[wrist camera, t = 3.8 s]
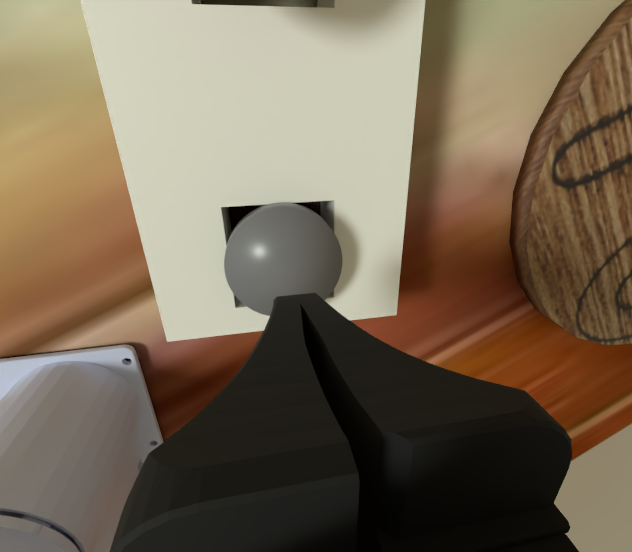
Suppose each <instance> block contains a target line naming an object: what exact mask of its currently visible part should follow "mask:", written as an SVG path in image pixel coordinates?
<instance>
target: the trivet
mask: <svg viewBox="0 0 632 552" xmlns="http://www.w3.org/2000/svg"><path fill="white" fill-rule="evenodd" d="M509 242H510V247H511V252H512V257H513V262H514V266H515V271H516V276H517V281H518V282H519V284H520V285H521V287H522V289H523V290H524V292H525V294H526V295H527V297H528V299H529V300H530V302H531V303H532V305H533V307H534V308H535V309H536V310H538V311H539V312H540V313H542V314H543V315H544V316H546V317H547V318H549V319H550V320H551V321H553V322H554V323H555V324H557V325H558V326H560V327H561V328H563V329H564V330H566V331H567V332H569V333H570V334H572V335H573V336H575V337H577V338H581V339H584V340H588V341H592V342H596V343H600V344H604V345H616V344H632V0H625V1H624V2H623V3H621V4H620V5H619V6H618V7H617V8H616V9H615V10H613V11H612V12H611V13H610V15H609V16H608V17H607V18H606V20H605V21H604V22H603V23H602V25H601V26H600V27H599V29H598V30H597V31H596V32H595V34H594V35H593V36H592V37H591V39H590V40H589V41H588V43H587V44H586V45H585V46H584V48H583V49H582V50H581V51H580V53H579V54H578V55H577V57H576V58H575V59H574V60H573V62H572V63H571V64H570V65H569V67H568V68H567V69H566V71H565V72H564V73H563V75H562V77H561V79H560V81H559V83H558V85H557V87H556V88H555V90H554V92H553V94H552V96H551V98H550V100H549V102H548V103H547V105H546V107H545V109H544V111H543V113H542V115H541V117H540V118H539V120H538V122H537V124H536V126H535V128H534V130H533V132H532V134H531V136H530V139H529V143H528V146H527V149H526V152H525V156H524V159H523V162H522V165H521V168H520V172H519V175H518V178H517V181H516V185H515V188H514V191H513V201H512V214H511V227H510V240H509Z"/></svg>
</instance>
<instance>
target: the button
mask: <svg viewBox="0 0 632 552" xmlns="http://www.w3.org/2000/svg"><path fill="white" fill-rule="evenodd" d="M342 262H343V261H342V251H341V247H340V244H339V241H338V239H337V237H336V235H335V233H334V232H333V231H332V229H331V228H330V227H329V225H328V224H327V223H326V221H325V220H324V219H323V218H322V217H321V216H319V215H318V214H317V213H316V212H314V211H312V210H311V209H309V208H307V207H304V206H302V205H298V204H294V203H280V202H279V203H271V204H268V205H264V206H261V207H259V208H257V209H255V210H253V211H251V212H250V213H248V214H247V215H246V216H244V217H243V218H242V219H241V220H240V221H239V222H238V224H237V225H236V226H235V228H234V229H233V231H232V233H231V235H230V237H229V240H228V243H227V247H226V252H225V258H224V270H225V276H226V280H227V282H228V285H229V287H230V289H231V290H232V292H233V293H234V295H235V296H236V297H237V298H238V299H239V300H240V301H241V303H243V304H244V305H245V306H247V307H248V308H250V309H251V310H253V311H255V312H258V313H260V314H263V315H267V316H270V315H271V312H272V308H273V303H274V301H273V300H274V299H275V298H276V297H278V296H288V295H298V294H307V293H316V294H317V295H319V296H320V297H321V298H322V299H323V300H325V299H327V297H328V296H329V295H330V294H331V293H332V291H333V290H334V288H335V287H336V285H337V283H338V280H339V278H340V275H341V270H342Z"/></svg>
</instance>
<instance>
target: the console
mask: <svg viewBox="0 0 632 552" xmlns="http://www.w3.org/2000/svg"><path fill="white" fill-rule="evenodd" d="M80 1H81V5H82V9H83V13H84V17H85V21H86V25H87V29H88V32H89V36H90V40H91V44H92V48H93V52H94V56H95V60H96V64H97V68H98V72H99V76H100V80H101V84H102V88H103V91H104V95H105V99H106V103H107V107H108V111H109V115H110V119H111V123H112V127H113V131H114V135H115V139H116V143H117V146H118V150H119V154H120V158H121V162H122V166H123V170H124V174H125V178H126V182H127V186H128V190H129V194H130V198H131V201H132V205H133V209H134V213H135V217H136V221H137V225H138V229H139V233H140V237H141V241H142V245H143V249H144V253H145V256H146V260H147V264H148V268H149V272H150V276H151V280H152V284H153V288H154V292H155V296H156V300H157V304H158V308H159V311H160V315H161V319H162V323H163V327H164V331H165V335H166V339H167V342H169V341H178V340H186V339H195V338H203V337H212V336H221V335H229V334H238V333H246V332H255V331H263V330H264V329H265V327H266V324H267V322H268V320H269V317H270V316H267V315H263V314H260V313H258V312H255V311H253V310H251V309H250V308H248V307H247V306H245V305H244V304H243V303H241V301H240V300H239V299H238V298H237V297H236V296H235V295H234V293H233V292H232V290H231V289H230V287H229V285H228V282H227V280H226V276H225V270H224V258H225V252H226V247H227V243H228V240H229V237H230V235H231V233H232V231H231V224H230V216H229V209H228V207H234V206H250V205H267V204H271V203H279V202H280V203H299V202H316V201H320V211H321V217H322V218H323V219H324V220H325V221H326V223H327V224H328V225H329V227H330V228H331V229H332V231H333V232H334V233H335V235H336V237H337V239H338V241H339V244H340V247H341V251H342V261H343V262H342V270H341V275H340V278H339V280H338V283H337V285H336V287H335V288H334V290H333V291H332V293H331V294H330V295H329V296H328V297H327V299H325V300H324V301H326V302H327V303H328V304H329V305H330V306H332V307H333V308H334V309H335V310H336V311H338V312H339V313H340V314H341V315H343V316H344V317H345V318H347V319H348V320H357V319H366V318H375V317H383V316H392V315H397V304H398V293H399V282H400V271H401V260H402V249H403V239H404V228H405V217H406V206H407V195H408V184H409V173H410V162H411V152H412V141H413V130H414V119H415V108H416V97H417V86H418V75H419V65H420V54H421V43H422V32H423V21H424V10H425V0H317V7H281V6H243V5H204V4H201V0H80Z"/></svg>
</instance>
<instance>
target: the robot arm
mask: <svg viewBox="0 0 632 552" xmlns="http://www.w3.org/2000/svg"><path fill="white" fill-rule="evenodd" d="M273 301H274V303H273V308H272V312H271V315H270V317H269V320H268V322H267V324H266V327H265V329H264V331H263V333H262V335H261V337H260V339H259V341H258V342H257V344H256V346H255V348H254V349H253V351H252V353H251V354H250V356H249V357H248V359H247V360H246V362H245V363H244V364H243V366H242V367H241V369H240V370H239V371H238V372H237V374H236V375H235V376H234V377H233V379H232V380H231V381H230V382H229V383H228V385H227V386H226V387H225V388H224V389H223V390H222V391H221V392H220V394H219V395H218V396H217V397H216V398H215V399H214V400H213V401H212V402H210V403H209V404H208V405H207V406H206V407H205V408H204V409H203V410H202V411H201V412H200V413H199V414H198V415H197V416H196V417H195V418H193V419H192V420H191V421H190V422H189V423H187V424H186V425H185V426H184V427H182V428H181V429H180V430H179V431H177V432H176V433H175V434H173V435H172V436H171V437H170V438H168V439H167V440H166V441H163V438H162V435H161V432H160V428H159V425H158V422H157V419H156V415H155V412H154V409H153V406H152V402H151V399H150V396H149V393H148V389H147V386H146V383H145V379H144V376H143V373H142V370H141V366H140V363H139V360H138V357H137V353H136V350H135V349H134V347H132V346H130V345H117V346H108V347H99V348H91V349H82V350H73V351H65V352H56V353H47V354H39V355H30V356H22V357H13V358H4V359H0V552H579V551H578V550H577V549H576V547H575V546H574V545H573V543H572V542H571V541H570V539H569V538H568V537H567V535H566V534H565V533H567V532H568V531H569V529H570V526H569V523H568V521H567V519H566V518H565V517H564V516H563V514H562V513H561V512H560V511H559V510H558V508H557V507H556V506H555V504H554V501H555V498H556V496H557V494H558V491H559V489H560V487H561V485H562V482H563V480H564V478H565V476H566V473H567V471H568V469H569V465H570V461H571V458H572V446H571V439H570V437H569V436H568V434H567V432H566V431H565V429H564V428H563V427H562V426H561V425H560V424H559V423H558V422H557V421H556V420H555V419H554V418H553V417H552V416H550V415H549V414H548V413H547V412H546V411H545V410H544V409H543V408H542V407H541V406H540V405H539V404H538V403H537V402H536V401H535V400H534V399H533V398H532V397H531V396H530V395H529V394H528V393H527V392H525V391H524V390H520V389H516V388H512V387H508V386H504V385H499V384H495V383H491V382H487V381H483V380H479V379H475V378H472V377H469V376H465V375H462V374H459V373H456V372H453V371H450V370H447V369H444V368H441V367H438V366H435V365H433V364H430V363H427V362H425V361H423V360H420V359H418V358H416V357H413V356H411V355H408V354H406V353H404V352H402V351H400V350H398V349H396V348H394V347H392V346H390V345H388V344H386V343H384V342H382V341H380V340H379V339H377V338H375V337H373V336H372V335H370V334H369V333H367V332H366V331H364V330H362V329H361V328H359V327H358V326H356V325H355V324H354V323H352V322H351V321H349V320H348V319H347V318H345V317H344V316H343V315H341V314H340V313H339V312H338V311H336V310H335V309H334V308H333V307H332V306H330V305H329V304H328V303H327V302H326V301H324V300H323V299H322V298H321V297H320V296H319V295H317V294H316V293H307V294H298V295H288V296H278V297H276V298H275V299H274V300H273ZM125 358H129V359H131V361H127V360H125Z"/></svg>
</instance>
